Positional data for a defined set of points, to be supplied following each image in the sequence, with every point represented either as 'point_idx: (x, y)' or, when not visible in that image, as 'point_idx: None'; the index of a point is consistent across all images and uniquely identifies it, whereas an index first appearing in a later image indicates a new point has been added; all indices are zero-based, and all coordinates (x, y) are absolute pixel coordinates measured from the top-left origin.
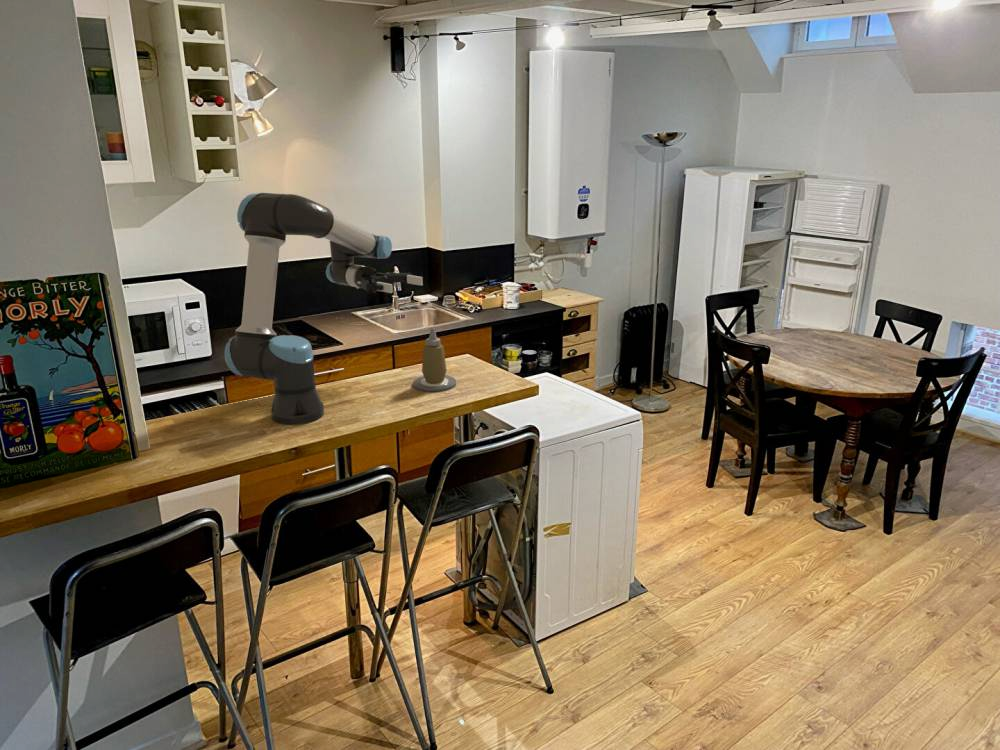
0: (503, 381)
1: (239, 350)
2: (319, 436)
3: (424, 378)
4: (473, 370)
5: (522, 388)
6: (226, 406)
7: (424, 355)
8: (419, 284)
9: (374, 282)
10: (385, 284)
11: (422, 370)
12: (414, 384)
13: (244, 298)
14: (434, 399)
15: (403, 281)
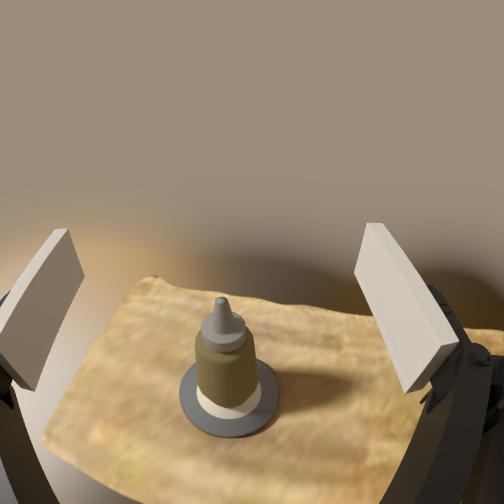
0: (142, 312)
1: None
2: (483, 338)
3: (228, 421)
4: (109, 382)
5: (159, 280)
6: None
7: (254, 358)
8: (77, 281)
9: (473, 353)
10: (404, 260)
11: (254, 388)
12: (274, 410)
13: None
14: (291, 341)
15: (21, 422)
